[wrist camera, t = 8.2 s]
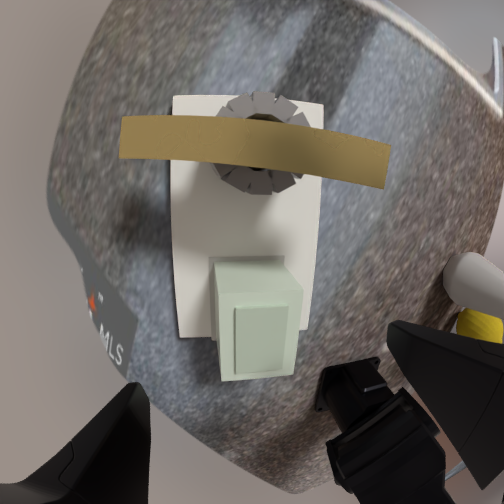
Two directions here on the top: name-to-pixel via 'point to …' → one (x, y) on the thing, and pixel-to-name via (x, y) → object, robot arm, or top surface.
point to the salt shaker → (475, 284)
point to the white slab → (240, 211)
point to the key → (256, 146)
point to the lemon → (479, 326)
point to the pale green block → (256, 319)
